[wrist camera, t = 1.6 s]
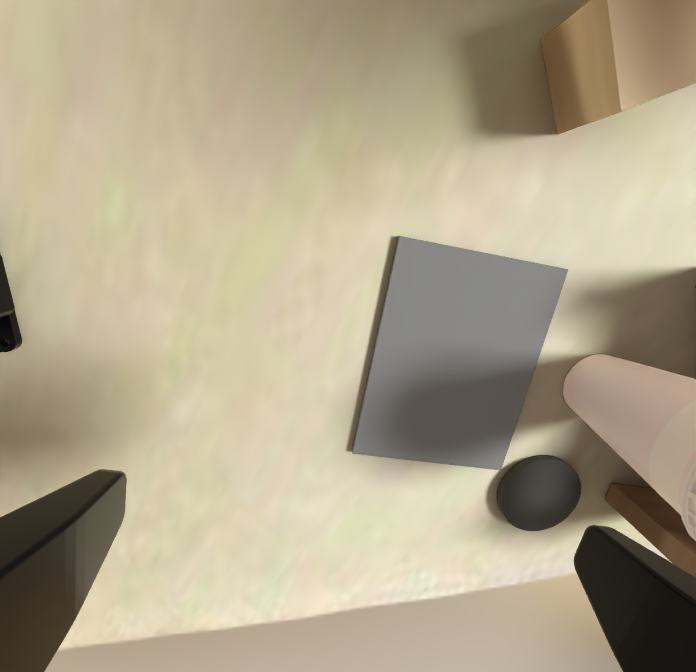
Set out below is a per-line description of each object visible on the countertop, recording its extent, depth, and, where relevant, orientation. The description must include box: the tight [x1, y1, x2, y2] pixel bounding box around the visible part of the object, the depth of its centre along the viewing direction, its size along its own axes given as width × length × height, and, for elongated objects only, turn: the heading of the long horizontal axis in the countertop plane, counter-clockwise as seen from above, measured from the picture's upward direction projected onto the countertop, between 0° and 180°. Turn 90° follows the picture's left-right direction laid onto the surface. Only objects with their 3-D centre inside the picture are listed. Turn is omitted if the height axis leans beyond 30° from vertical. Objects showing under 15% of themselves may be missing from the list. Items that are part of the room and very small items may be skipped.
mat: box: [352, 236, 568, 470], centre depth 21 cm, size 9×12×1 cm
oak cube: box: [540, 0, 696, 134], centre depth 16 cm, size 4×4×4 cm
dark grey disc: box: [497, 455, 581, 531], centre depth 24 cm, size 5×5×1 cm
